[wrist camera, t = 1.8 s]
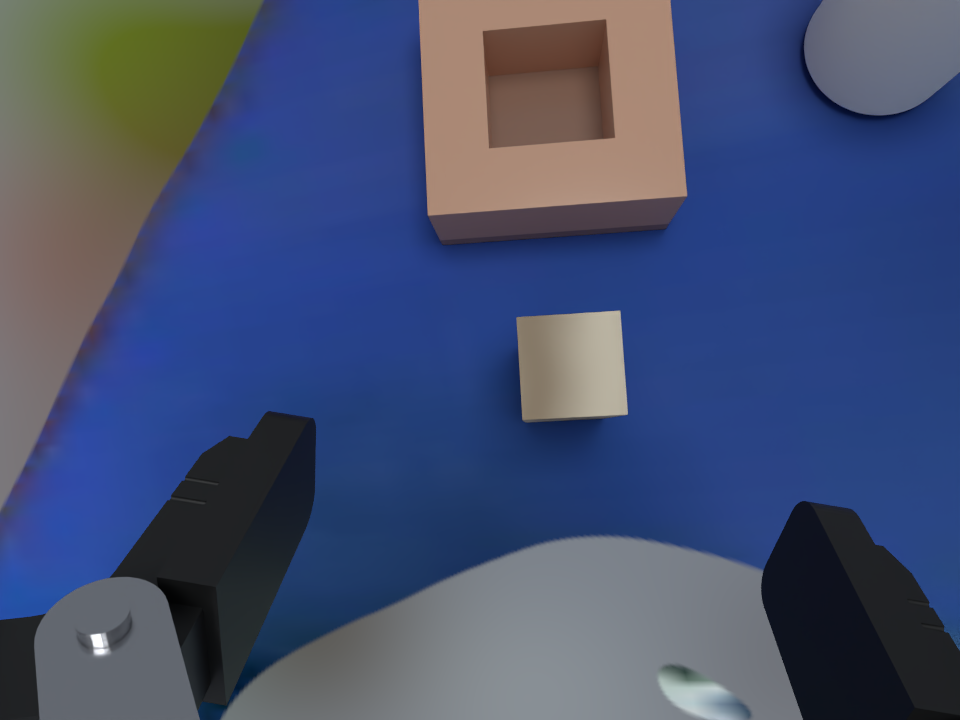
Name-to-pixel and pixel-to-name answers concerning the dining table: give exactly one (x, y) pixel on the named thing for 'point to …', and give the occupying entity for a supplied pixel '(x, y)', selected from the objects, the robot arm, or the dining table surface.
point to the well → (549, 118)
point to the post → (571, 366)
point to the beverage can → (883, 52)
